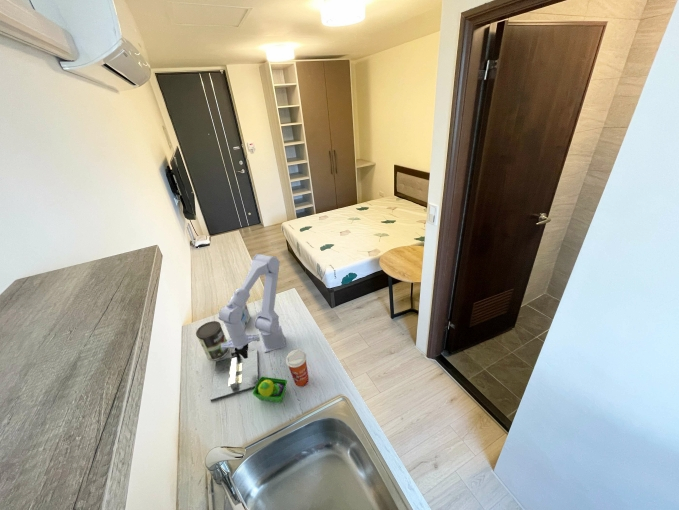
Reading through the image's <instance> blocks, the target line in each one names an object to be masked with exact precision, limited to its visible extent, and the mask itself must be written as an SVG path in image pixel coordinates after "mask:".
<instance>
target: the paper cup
mask: <svg viewBox="0 0 679 510" xmlns="http://www.w3.org/2000/svg"><path fill="white" fill-rule="evenodd" d="M285 363H286V365H287V366H288V368H289V371H290V375H291V376H292V377H291V378H292V380H293V382H294V384H295V386H297V387H298V388H300V387H301V388H302V387H305V386H306V385H308V383H309V371H308V365H307V354H306V352H305V351H303V350H302V349H299V348H298V349H294V350H291V351H290V352H288V354H287V356H286V359H285Z"/></svg>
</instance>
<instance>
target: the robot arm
mask: <svg viewBox="0 0 679 510" xmlns="http://www.w3.org/2000/svg"><path fill="white" fill-rule="evenodd" d="M280 264H281V263H280V260H279V258H277V256H274V255H273V256H272V255H267V254H261V253H256V254H255V255H254V256H253V257H252V260H251V261H250V269H249V270H248V273H247V275H246V277H245V279H244V280H243V283H242V285H241V287H239V288H236V289H235V291H234V292H233V294H232V296H231V298H229V301H228V302H227V304H226V305H225V306H222V308H220V310H219V312H218V313H219V314H218V320H219V321H222V322H223V324H225V327H226V331H227V333H228V335H229V339H230V340H227V342H225V343H223V344H221V349H222V351H224V350H225V349H227V348H229V349H234V350H235V352H237V353H239V354H240V355H242V356H243V358H244V359H246V358H248V353H247V352H249V351H248V350H249V344H250V343H253V342H256V341H257V342H260V341H261V339H260V338H262V341H263V350H264V353H268V352H271V351H274V350H280V349H283V348H285V347H286V341H285V339H286V338H285V335H284V332H283V329H282V328H283V327H282V325H280V321H279V318H280V317H279V315H278V314H277V312H276V311H275V305H276V298H277V297H276V295H277V289H278V288H277V286H278V278H279V270H280ZM263 275H264V283H263V284H264V286H263V294H262V302H261V303H262V304H261V310H260V311H259V312H256V318H255V320H254V324H253V325H254V328H255V329H256V330H258V331H259V332H260V334H258V333H257V334H247V333H246V330H245V329H244V327H243V324H242V321H241V318H242V312H243V307H244V305H245V304H246V305H247V302H248V300H249V298H250V297H251V293H250V290H251V289H253V287H254V285H255V283H257V282H258V281H257V280H258V279H259V278H260V277H261V276H263ZM260 335H261V337H260Z"/></svg>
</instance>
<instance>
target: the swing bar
mask: <svg viewBox="0 0 679 510" xmlns="http://www.w3.org/2000/svg"><path fill="white" fill-rule="evenodd" d="M231 357H232V361H231V373H230V386H231V389H235V388H237V380H238V360H239V359H238V356H237V354H233V355H231Z"/></svg>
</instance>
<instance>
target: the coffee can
mask: <svg viewBox="0 0 679 510" xmlns="http://www.w3.org/2000/svg"><path fill="white" fill-rule="evenodd" d="M195 335H196V337H197V339H198V341H199V342H200V345H201V347H202V349H203V351H204V353H205V355H206V357H207V359H208V360H209V361H218V360H221V359H223V358H224V357H225V356H226V355H228V353H229V351H230V348H227V349H225V350H224V351H222V349H221V344H223V343H225V342H227V341H228V340H227V338H226V335H225V333H224V330H223V328H222V324H221V323H220V322H219V321H217V320H216V321H215V320H211V321H209V322H206V323H204V324H202V325H200V326H199V327H198V328H197V330H196V332H195Z"/></svg>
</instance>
